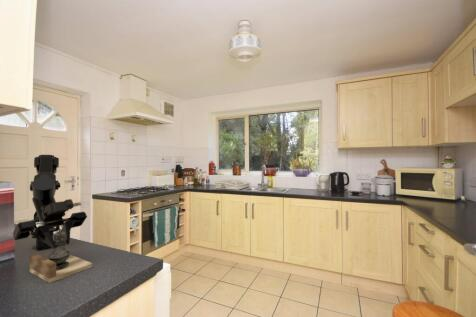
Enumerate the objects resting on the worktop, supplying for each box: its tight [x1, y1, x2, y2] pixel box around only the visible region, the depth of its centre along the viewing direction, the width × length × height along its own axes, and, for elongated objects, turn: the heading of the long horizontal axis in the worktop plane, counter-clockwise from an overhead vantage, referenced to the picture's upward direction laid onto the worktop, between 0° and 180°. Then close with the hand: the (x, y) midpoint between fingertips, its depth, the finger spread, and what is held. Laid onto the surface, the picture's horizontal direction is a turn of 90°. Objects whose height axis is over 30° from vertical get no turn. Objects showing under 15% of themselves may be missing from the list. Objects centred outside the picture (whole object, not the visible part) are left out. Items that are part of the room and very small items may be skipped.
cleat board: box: [28, 253, 94, 284], centre depth 75 cm, size 14×12×5 cm
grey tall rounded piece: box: [47, 228, 71, 269], centre depth 74 cm, size 6×6×12 cm
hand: (61, 245), depth 73 cm, fingers closed on grey tall rounded piece, 3 cm apart
